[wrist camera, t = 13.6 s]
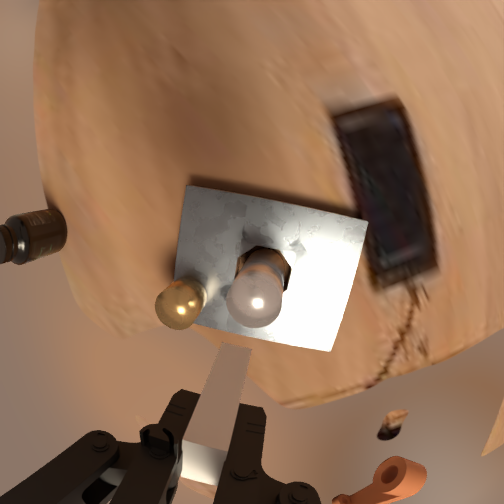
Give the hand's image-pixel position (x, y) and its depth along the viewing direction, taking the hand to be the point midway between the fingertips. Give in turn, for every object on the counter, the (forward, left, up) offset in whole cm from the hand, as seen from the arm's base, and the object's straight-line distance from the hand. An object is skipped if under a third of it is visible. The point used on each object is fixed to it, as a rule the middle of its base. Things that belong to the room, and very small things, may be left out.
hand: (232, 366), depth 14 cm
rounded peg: (0, 0, -21) cm, 21 cm away
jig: (0, 0, -21) cm, 21 cm away
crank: (+32, -41, -21) cm, 56 cm away
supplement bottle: (-32, -2, -21) cm, 39 cm away
